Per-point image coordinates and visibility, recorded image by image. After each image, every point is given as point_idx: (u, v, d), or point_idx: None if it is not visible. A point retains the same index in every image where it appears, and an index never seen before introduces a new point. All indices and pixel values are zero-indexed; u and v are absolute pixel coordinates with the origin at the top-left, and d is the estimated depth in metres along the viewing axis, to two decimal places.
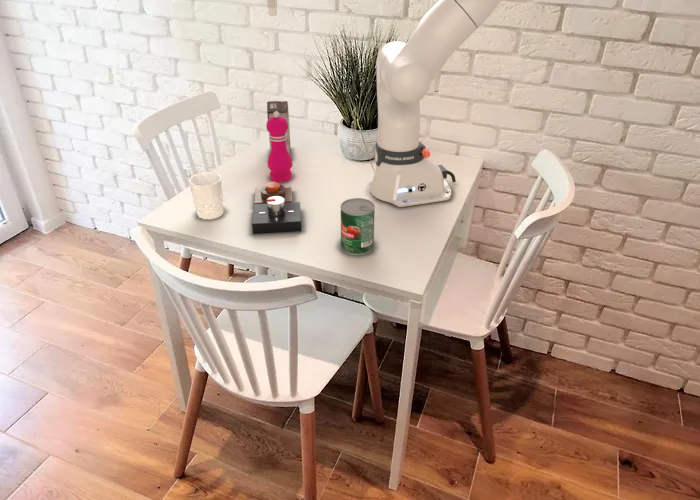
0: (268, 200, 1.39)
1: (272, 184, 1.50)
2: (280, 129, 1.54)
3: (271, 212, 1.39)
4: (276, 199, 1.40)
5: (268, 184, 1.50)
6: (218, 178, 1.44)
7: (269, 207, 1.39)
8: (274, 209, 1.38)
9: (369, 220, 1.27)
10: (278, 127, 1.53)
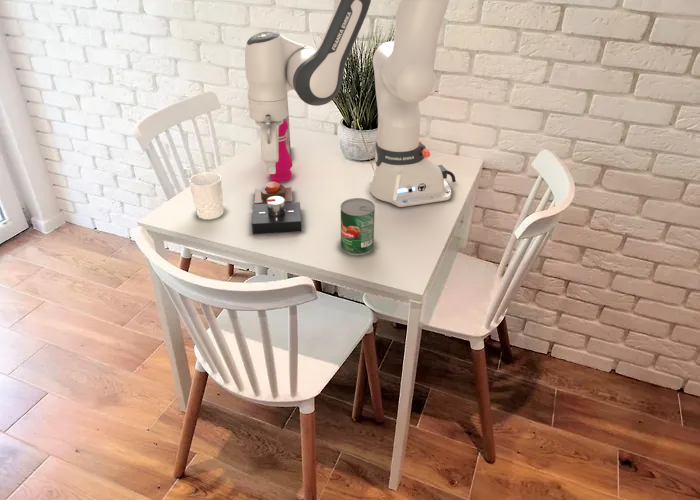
0: (268, 200, 1.39)
1: (272, 184, 1.50)
2: (280, 129, 1.54)
3: (271, 212, 1.39)
4: (276, 199, 1.40)
5: (268, 184, 1.50)
6: (218, 178, 1.44)
7: (269, 207, 1.39)
8: (274, 209, 1.38)
9: (369, 220, 1.27)
10: None
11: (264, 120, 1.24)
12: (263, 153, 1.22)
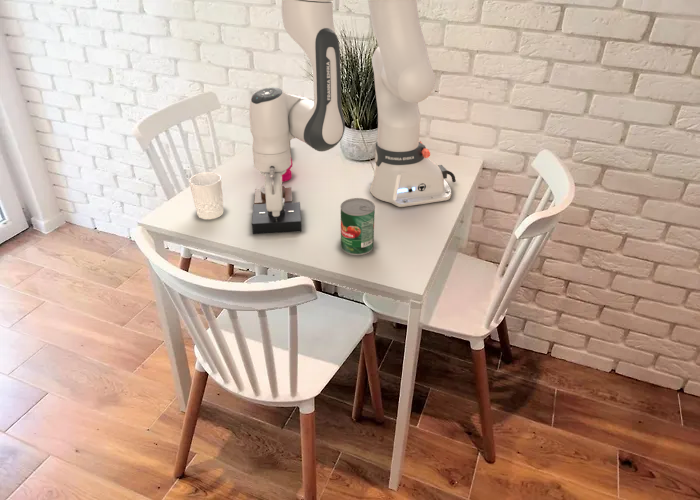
0: None
1: None
2: None
3: (271, 212, 1.39)
4: None
5: None
6: (218, 178, 1.44)
7: None
8: None
9: (369, 220, 1.27)
10: None
11: (268, 171, 1.30)
12: (268, 203, 1.29)
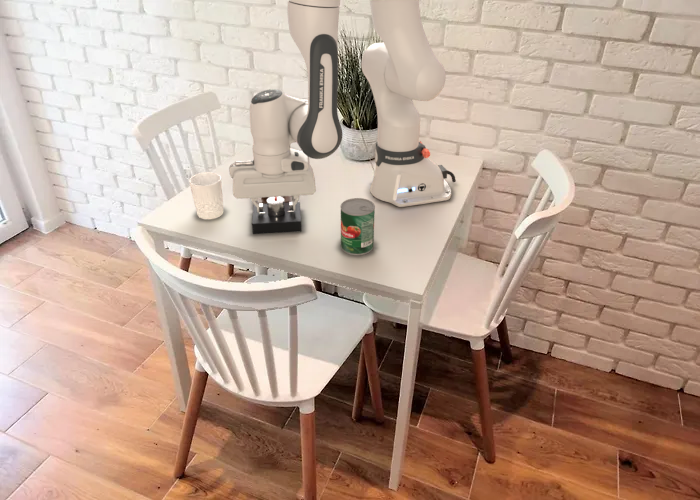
0: None
1: None
2: None
3: None
4: (276, 200, 1.39)
5: None
6: (218, 178, 1.44)
7: None
8: None
9: (369, 220, 1.27)
10: None
11: None
12: None
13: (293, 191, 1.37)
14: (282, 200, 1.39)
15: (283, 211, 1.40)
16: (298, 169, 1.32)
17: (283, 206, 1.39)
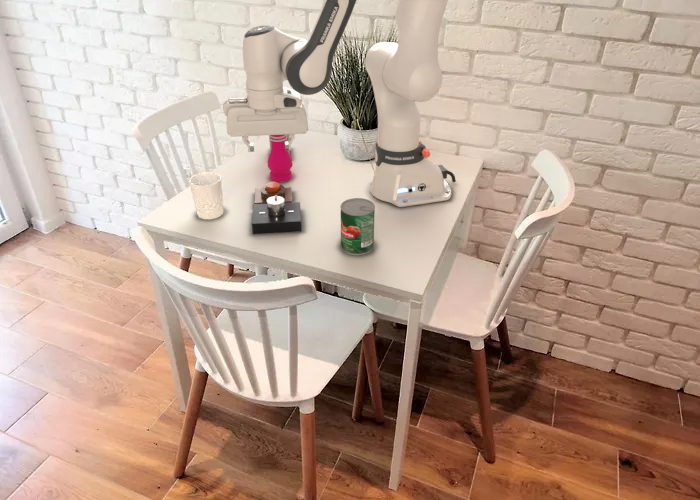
0: (274, 196, 1.41)
1: (272, 184, 1.50)
2: None
3: None
4: (276, 200, 1.39)
5: (268, 184, 1.50)
6: (218, 178, 1.44)
7: None
8: None
9: (369, 220, 1.27)
10: None
11: None
12: None
13: (286, 129, 1.40)
14: (282, 200, 1.39)
15: (283, 211, 1.40)
16: (290, 106, 1.35)
17: (283, 206, 1.39)
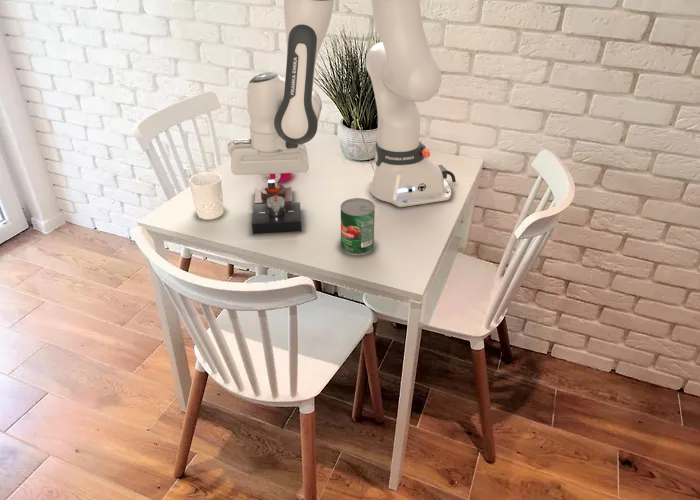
0: (274, 196, 1.41)
1: None
2: None
3: None
4: (276, 200, 1.39)
5: None
6: (218, 178, 1.44)
7: None
8: None
9: (369, 220, 1.27)
10: None
11: None
12: None
13: (287, 168, 1.46)
14: (282, 200, 1.39)
15: (283, 211, 1.40)
16: (292, 147, 1.41)
17: (283, 206, 1.39)
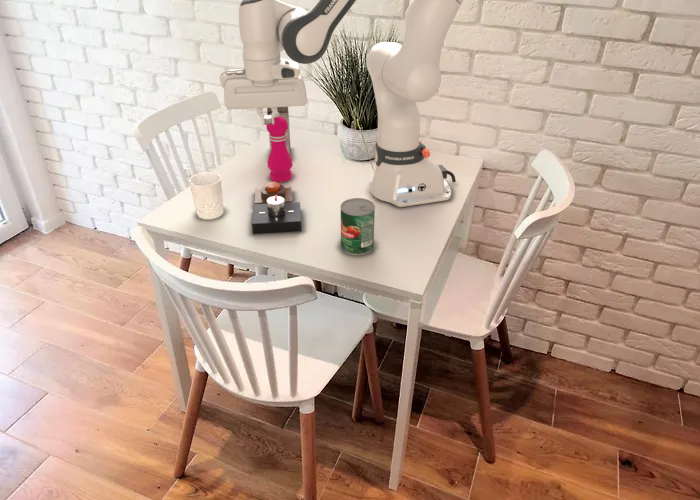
0: (274, 196, 1.41)
1: (272, 184, 1.50)
2: (280, 129, 1.54)
3: None
4: (276, 200, 1.39)
5: (268, 184, 1.50)
6: (218, 178, 1.44)
7: None
8: None
9: (369, 220, 1.27)
10: (278, 127, 1.53)
11: None
12: None
13: (284, 101, 1.37)
14: (282, 200, 1.39)
15: (283, 211, 1.40)
16: (288, 76, 1.33)
17: (283, 206, 1.39)
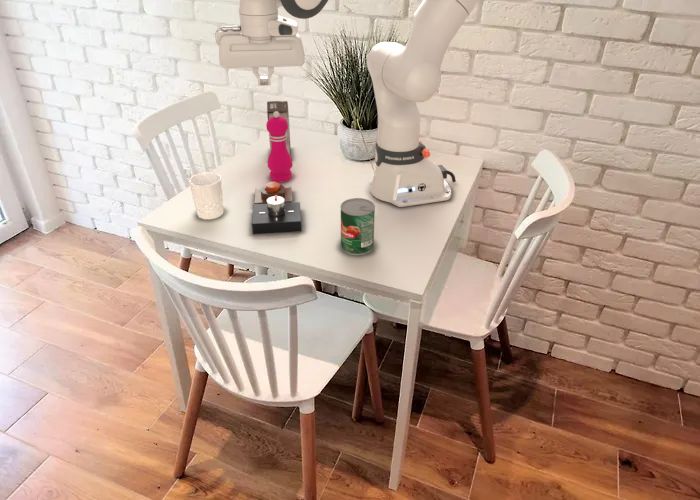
0: (274, 196, 1.41)
1: (272, 184, 1.50)
2: (280, 129, 1.54)
3: None
4: (276, 200, 1.39)
5: (268, 184, 1.50)
6: (218, 178, 1.44)
7: None
8: None
9: (369, 220, 1.27)
10: (278, 127, 1.53)
11: None
12: None
13: (281, 61, 1.33)
14: (282, 200, 1.39)
15: (283, 211, 1.40)
16: (286, 34, 1.28)
17: (283, 206, 1.39)
